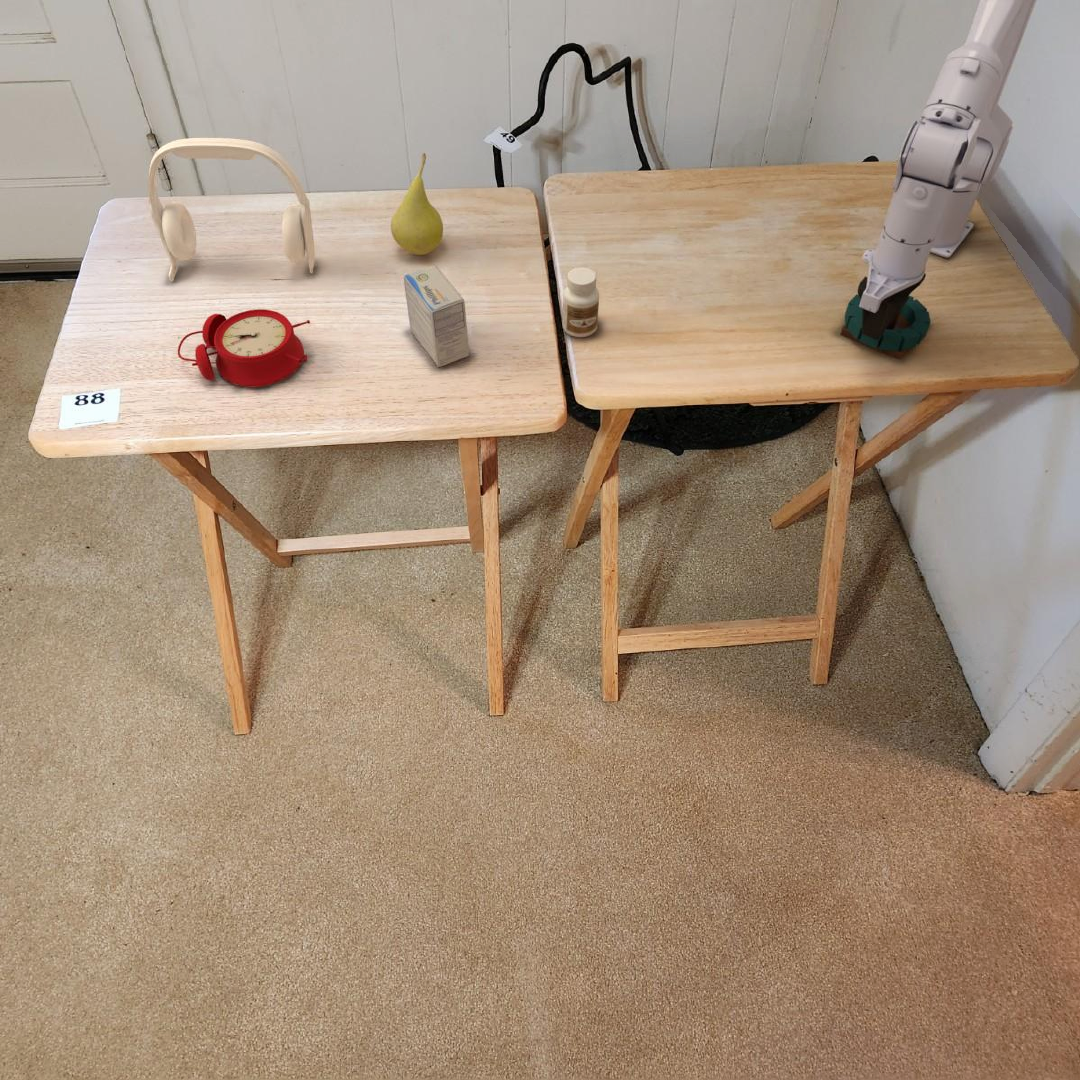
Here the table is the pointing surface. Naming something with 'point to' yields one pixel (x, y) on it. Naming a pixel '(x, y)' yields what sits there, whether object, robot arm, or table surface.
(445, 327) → the medicine box
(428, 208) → the fruit
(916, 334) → the ring
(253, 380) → the alarm clock
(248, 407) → the table surface
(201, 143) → the headset
